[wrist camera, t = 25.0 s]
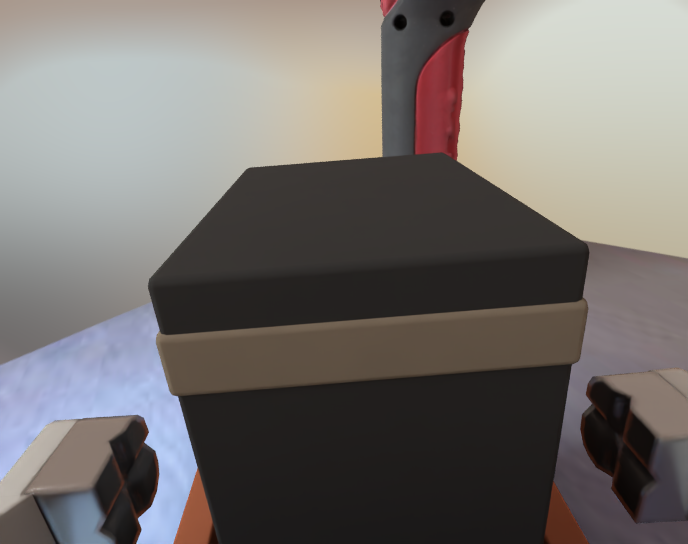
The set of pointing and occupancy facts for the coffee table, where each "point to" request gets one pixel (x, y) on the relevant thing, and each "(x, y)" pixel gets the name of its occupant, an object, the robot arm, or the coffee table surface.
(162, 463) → the coffee table surface
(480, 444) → the black box with band
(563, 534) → the orange and black tray
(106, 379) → the coffee table surface
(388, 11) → the flashlight
